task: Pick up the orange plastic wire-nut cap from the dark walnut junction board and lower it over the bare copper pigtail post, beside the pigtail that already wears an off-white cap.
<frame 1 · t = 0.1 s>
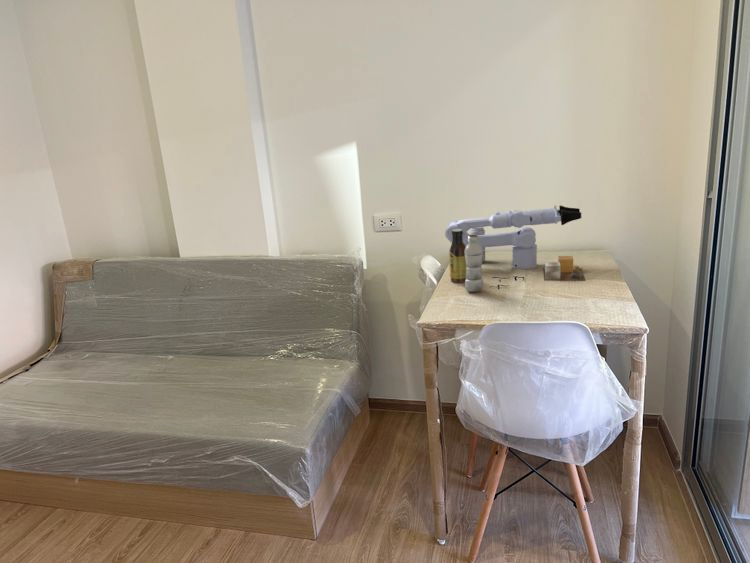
hand: (580, 213, 202), 22 cm above the table, tool horizontal, fingers open, 7 cm apart
junction board: (563, 276, 200), on the table
sauce bottle: (458, 281, 205), on the table
energy drink can: (478, 262, 228), on the table
wire nut cap: (565, 270, 204), point 1 cm above the table, touching junction board
plastic bottle: (474, 291, 192), on the table
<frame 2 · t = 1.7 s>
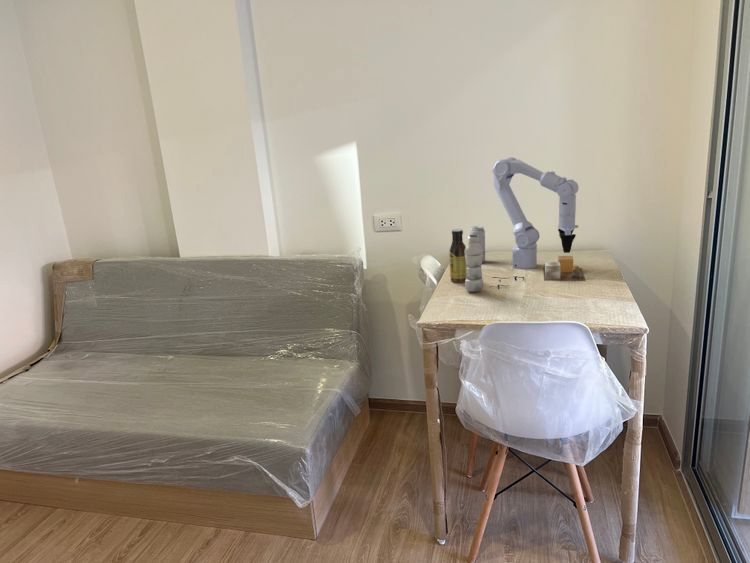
hand: (566, 249, 201), 9 cm above the table, tool pointing down, fingers open, 7 cm apart
nothing on the table moved.
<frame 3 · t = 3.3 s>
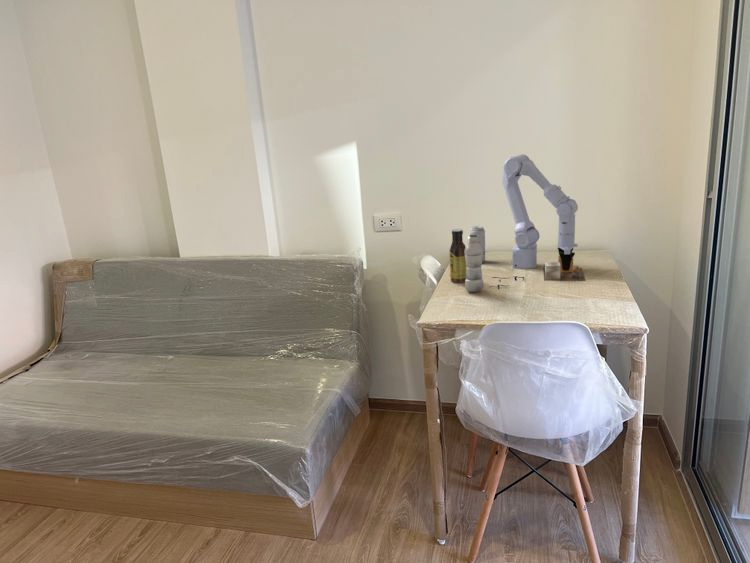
hand: (565, 268, 203), 2 cm above the table, tool pointing down, fingers closed on wire nut cap, 5 cm apart
wire nut cap: (565, 270, 204), point 1 cm above the table, touching gripper, junction board
everything else where it was.
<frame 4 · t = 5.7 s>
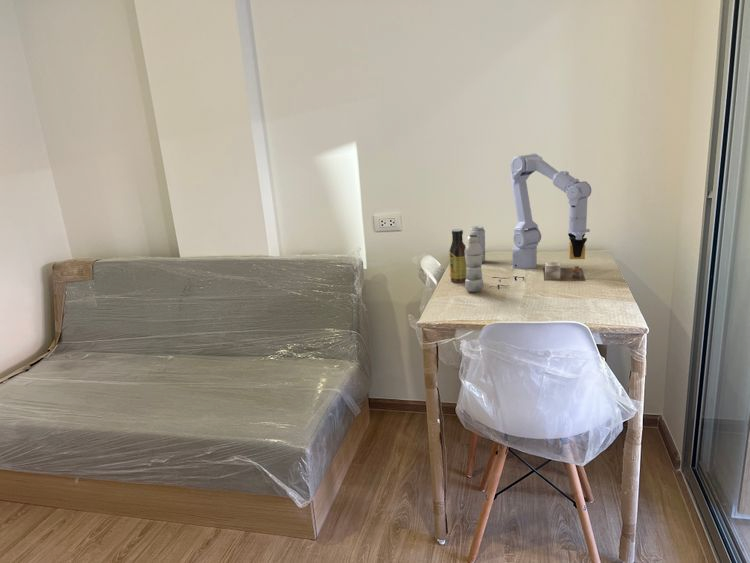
hand: (576, 254, 192), 9 cm above the table, tool pointing down, fingers closed on wire nut cap, 5 cm apart
wire nut cap: (576, 257, 192), point 9 cm above the table, touching gripper
everything else where it was.
when the fingers open (3 cm above the table, at t = 8.2 s): wire nut cap drops 1 cm, resting on junction board.
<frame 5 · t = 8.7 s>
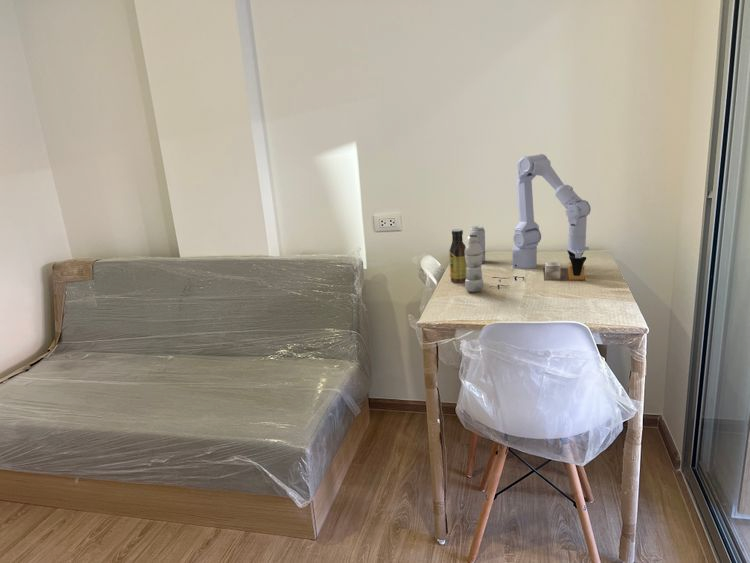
hand: (575, 272, 194), 3 cm above the table, tool pointing down, fingers open, 7 cm apart
wire nut cap: (575, 277, 195), point 1 cm above the table, touching junction board
everything else where it was.
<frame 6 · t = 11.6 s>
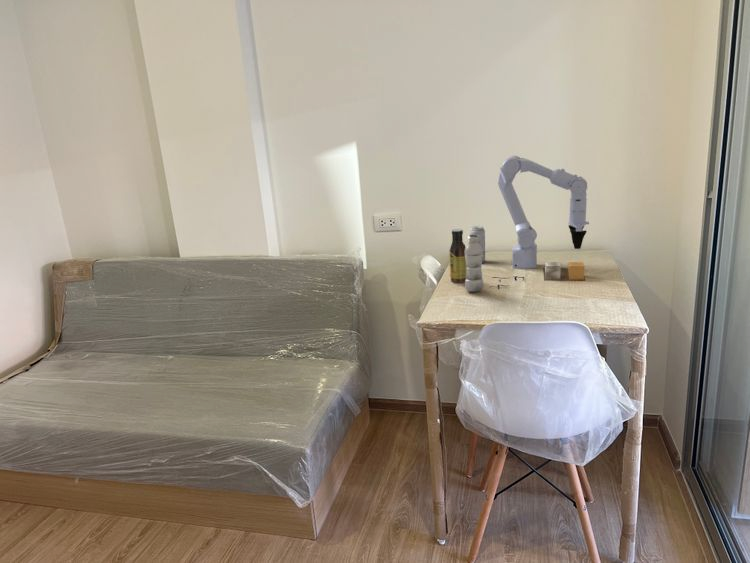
hand: (576, 246, 204), 9 cm above the table, tool pointing down, fingers open, 7 cm apart
nothing on the table moved.
at the end: wire nut cap 0.0 cm from the target spot on the junction board, point 1.0 cm above the junction board's base; wire nut cap tilted 0°; the gripper is holding nothing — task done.
